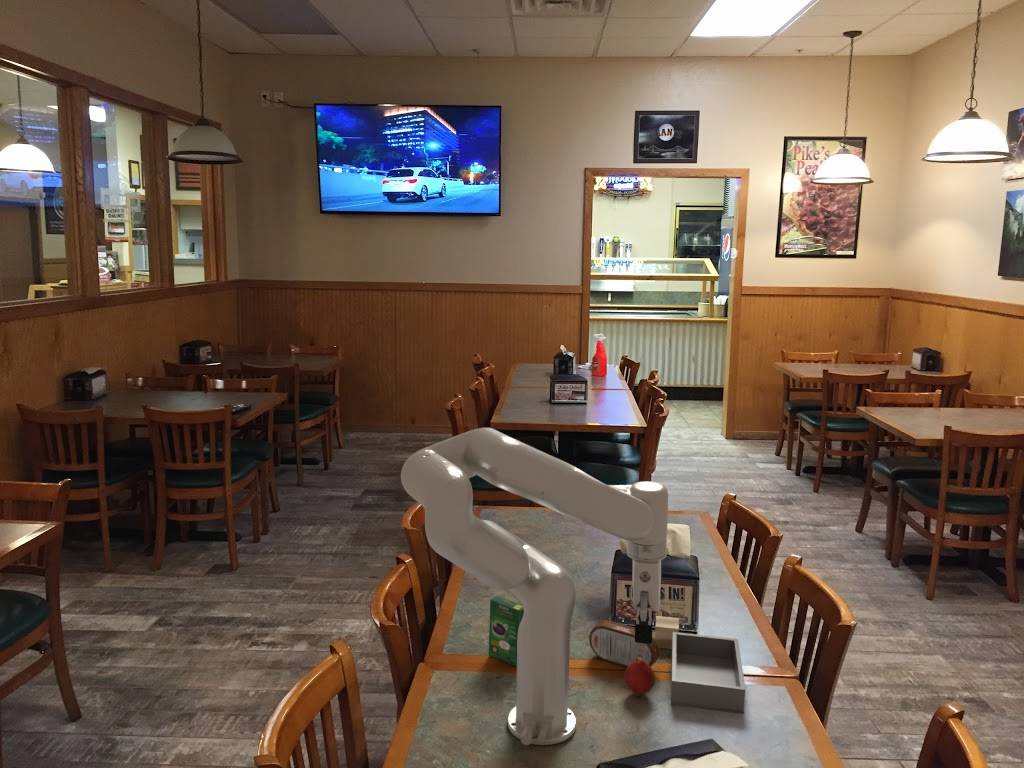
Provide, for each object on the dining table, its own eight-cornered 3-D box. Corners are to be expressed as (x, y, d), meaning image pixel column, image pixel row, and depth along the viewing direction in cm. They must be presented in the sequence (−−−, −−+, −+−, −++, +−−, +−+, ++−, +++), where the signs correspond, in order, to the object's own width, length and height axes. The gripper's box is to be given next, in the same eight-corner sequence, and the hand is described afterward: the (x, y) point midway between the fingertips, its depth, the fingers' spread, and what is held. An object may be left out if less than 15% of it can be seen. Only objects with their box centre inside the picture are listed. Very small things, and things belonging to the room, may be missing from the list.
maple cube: (677, 650, 174) (678, 628, 173) (654, 647, 175) (655, 626, 174) (677, 638, 179) (678, 618, 178) (655, 636, 180) (656, 615, 179)
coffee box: (526, 662, 168) (527, 604, 165) (518, 668, 165) (519, 610, 163) (496, 650, 172) (496, 594, 170) (487, 656, 170) (488, 599, 168)
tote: (743, 713, 151) (745, 689, 150) (670, 704, 153) (671, 680, 152) (736, 660, 170) (737, 639, 169) (671, 653, 172) (672, 631, 171)
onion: (635, 683, 161) (637, 646, 159) (659, 694, 157) (661, 657, 155) (617, 694, 157) (619, 656, 155) (641, 706, 153) (643, 668, 151)
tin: (658, 670, 166) (660, 633, 164) (653, 677, 163) (655, 639, 161) (592, 650, 173) (594, 614, 171) (586, 657, 170) (587, 620, 169)
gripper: (665, 567, 142) (663, 655, 145) (667, 531, 159) (664, 610, 162) (623, 564, 143) (621, 650, 147) (629, 528, 160) (627, 607, 163)
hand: (644, 629), depth 154 cm, fingers open, 9 cm apart
